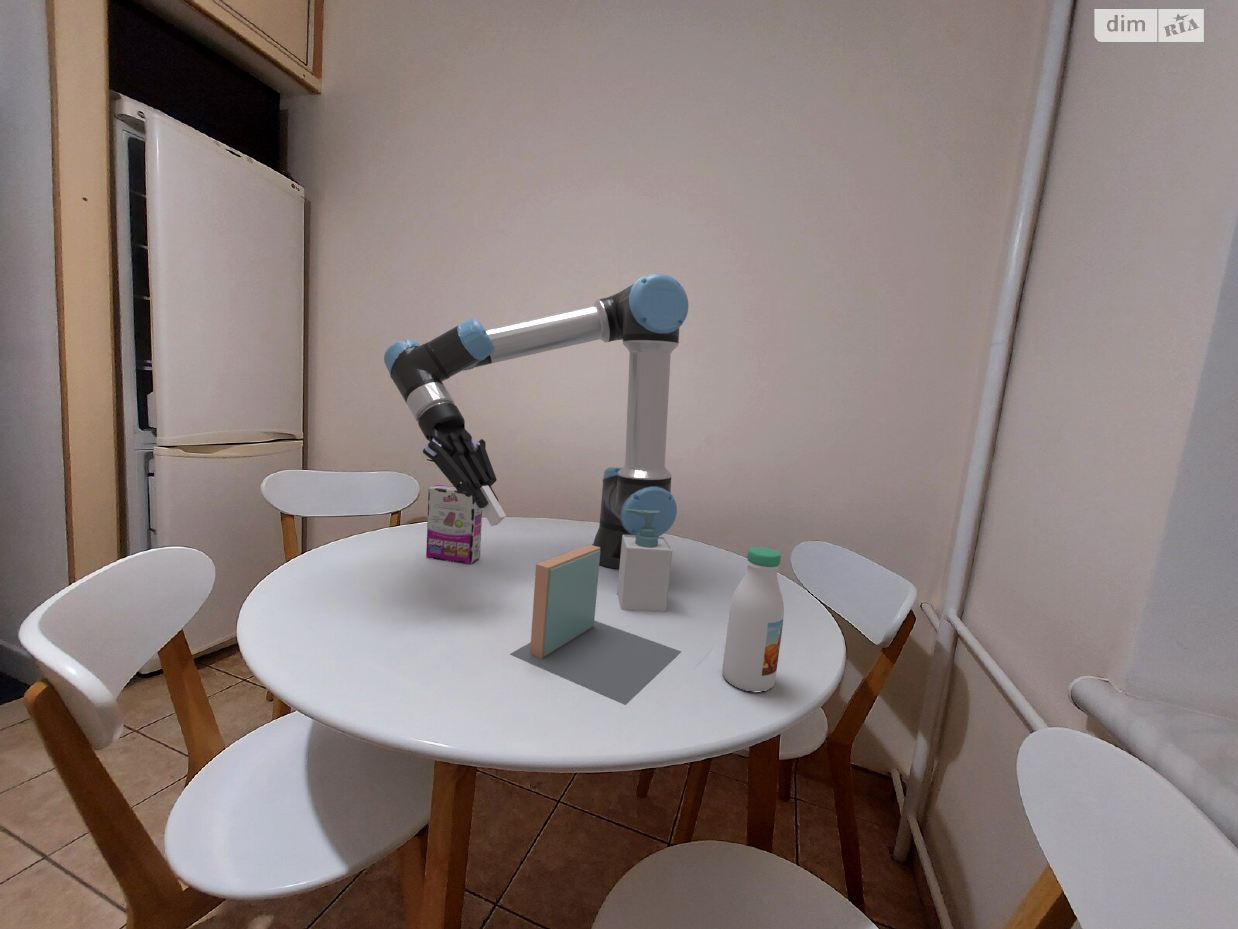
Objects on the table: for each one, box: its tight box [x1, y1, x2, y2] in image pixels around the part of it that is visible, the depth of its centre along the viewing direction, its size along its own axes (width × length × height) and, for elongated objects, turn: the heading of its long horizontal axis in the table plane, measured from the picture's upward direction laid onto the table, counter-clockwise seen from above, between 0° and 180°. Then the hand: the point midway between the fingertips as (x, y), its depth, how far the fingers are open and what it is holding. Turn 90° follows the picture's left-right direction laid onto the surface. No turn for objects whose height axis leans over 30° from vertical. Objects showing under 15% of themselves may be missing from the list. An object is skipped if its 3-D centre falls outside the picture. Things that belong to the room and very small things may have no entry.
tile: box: [530, 544, 600, 659], centre depth 82 cm, size 2×14×14 cm, turn 149°
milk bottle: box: [721, 546, 785, 692], centre depth 76 cm, size 8×8×20 cm
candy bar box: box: [425, 484, 483, 565], centre depth 117 cm, size 11×5×16 cm, turn 81°
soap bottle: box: [616, 509, 673, 613], centre depth 100 cm, size 9×9×19 cm
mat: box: [509, 620, 682, 706], centre depth 79 cm, size 20×18×1 cm
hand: (498, 521), depth 88 cm, fingers closed
